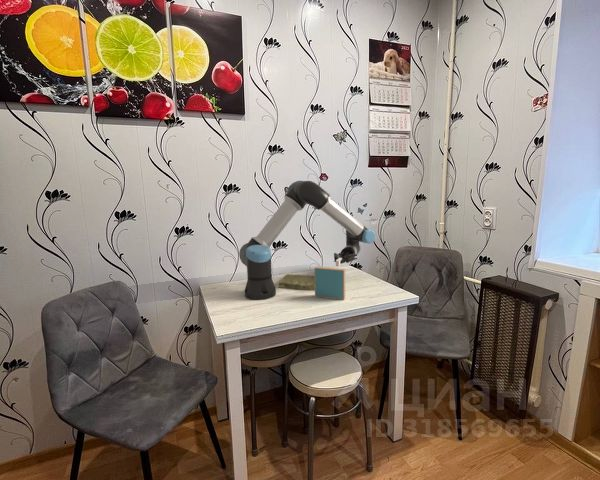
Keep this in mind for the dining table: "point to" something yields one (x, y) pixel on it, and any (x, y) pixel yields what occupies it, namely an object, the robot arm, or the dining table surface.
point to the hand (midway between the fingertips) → (337, 263)
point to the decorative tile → (298, 282)
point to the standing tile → (330, 283)
